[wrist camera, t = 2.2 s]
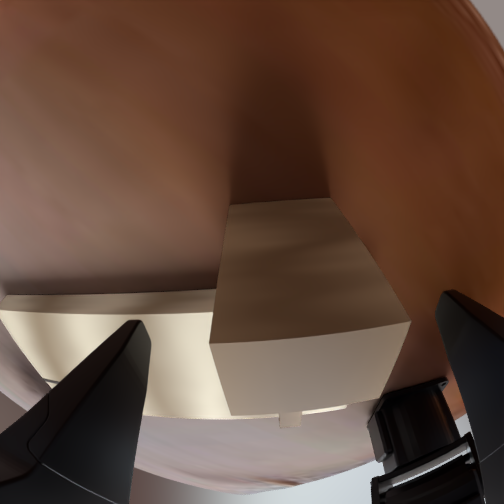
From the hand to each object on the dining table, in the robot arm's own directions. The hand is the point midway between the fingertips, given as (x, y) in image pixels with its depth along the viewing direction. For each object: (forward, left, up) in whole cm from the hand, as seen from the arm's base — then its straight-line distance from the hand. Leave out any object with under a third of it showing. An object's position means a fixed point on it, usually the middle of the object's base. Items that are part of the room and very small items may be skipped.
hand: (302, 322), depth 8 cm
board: (+7, +7, -5) cm, 11 cm away
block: (0, +4, -5) cm, 7 cm away
